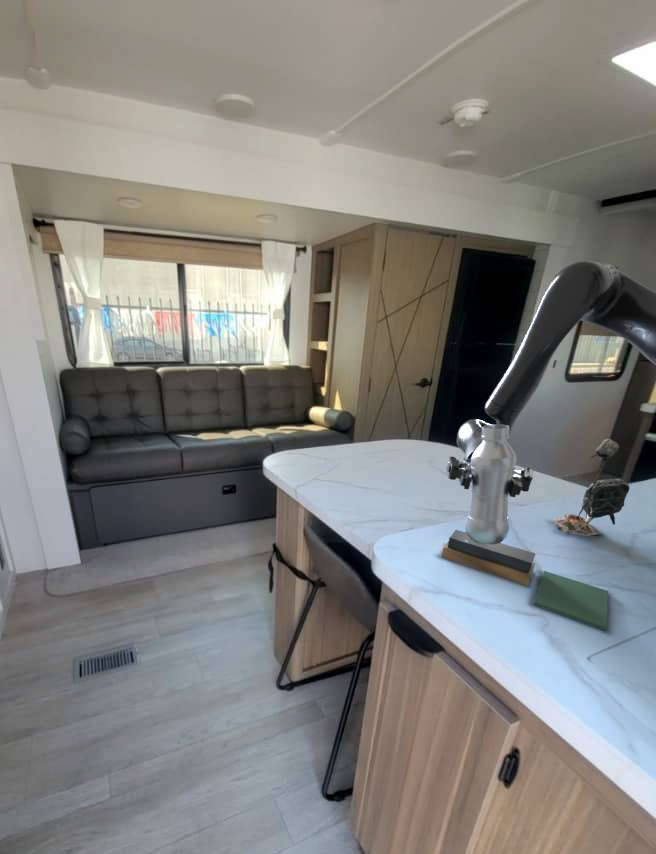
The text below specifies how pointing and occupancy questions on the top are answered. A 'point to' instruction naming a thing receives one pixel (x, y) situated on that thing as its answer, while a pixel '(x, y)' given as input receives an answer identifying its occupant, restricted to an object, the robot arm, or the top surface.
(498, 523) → the silver metal bottle
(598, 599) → the drying mat
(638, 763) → the top surface
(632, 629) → the top surface
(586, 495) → the plant with pod
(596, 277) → the robot arm
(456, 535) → the grey and wooden block
